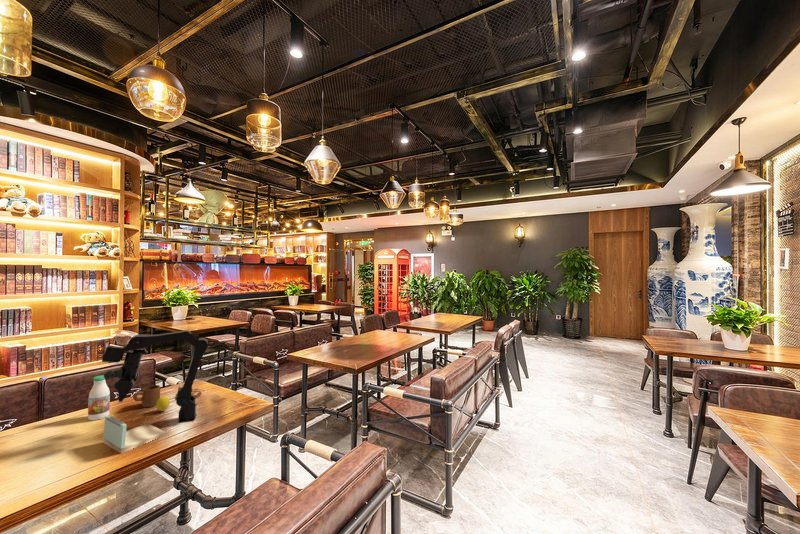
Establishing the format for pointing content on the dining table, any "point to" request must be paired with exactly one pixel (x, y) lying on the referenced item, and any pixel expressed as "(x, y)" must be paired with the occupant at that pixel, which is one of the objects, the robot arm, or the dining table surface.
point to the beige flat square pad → (138, 437)
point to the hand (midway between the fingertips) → (122, 398)
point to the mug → (148, 395)
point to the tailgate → (115, 431)
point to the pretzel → (196, 392)
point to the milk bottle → (99, 399)
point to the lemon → (163, 403)
